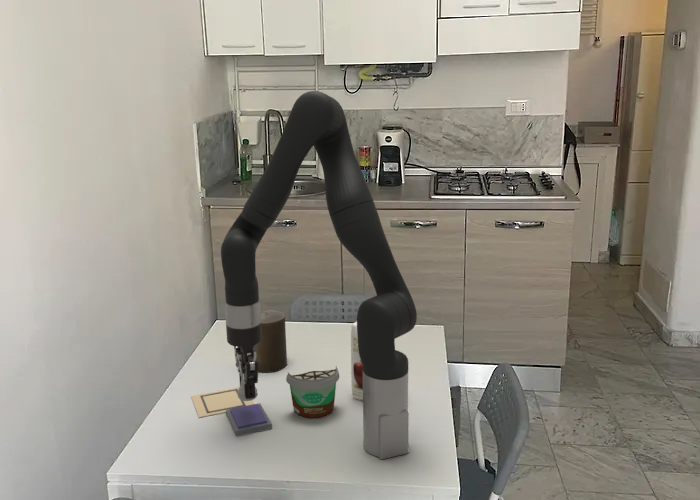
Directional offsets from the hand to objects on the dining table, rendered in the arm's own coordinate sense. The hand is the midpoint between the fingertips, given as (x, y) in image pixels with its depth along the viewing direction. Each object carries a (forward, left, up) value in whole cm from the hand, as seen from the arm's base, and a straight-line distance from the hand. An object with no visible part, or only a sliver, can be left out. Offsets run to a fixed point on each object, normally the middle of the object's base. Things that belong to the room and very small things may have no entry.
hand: (247, 392), depth 151 cm
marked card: (+11, +4, -7) cm, 14 cm away
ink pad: (0, 0, -7) cm, 7 cm away
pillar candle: (+27, -12, -7) cm, 30 cm away
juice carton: (0, -30, -7) cm, 31 cm away
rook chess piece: (0, 0, -1) cm, 1 cm away
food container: (-3, -15, -7) cm, 17 cm away
